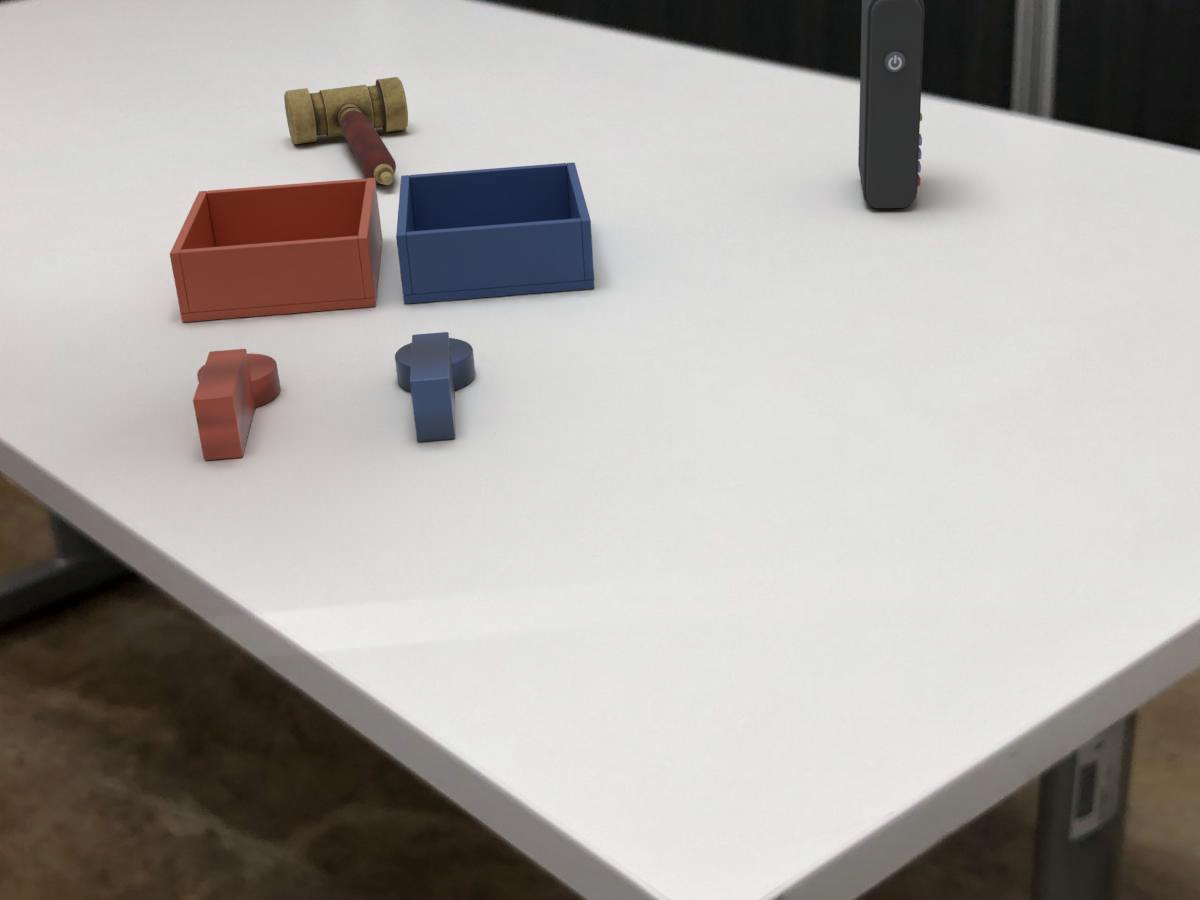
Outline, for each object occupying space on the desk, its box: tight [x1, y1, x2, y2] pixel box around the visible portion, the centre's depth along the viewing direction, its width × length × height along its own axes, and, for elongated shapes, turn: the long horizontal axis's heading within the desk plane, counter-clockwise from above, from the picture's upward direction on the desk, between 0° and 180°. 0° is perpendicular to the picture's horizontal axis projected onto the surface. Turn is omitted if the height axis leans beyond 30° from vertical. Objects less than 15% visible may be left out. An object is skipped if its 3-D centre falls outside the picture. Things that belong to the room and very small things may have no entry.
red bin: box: [169, 177, 384, 323], centre depth 104 cm, size 12×13×5 cm
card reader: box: [857, 0, 926, 209], centre depth 112 cm, size 9×4×15 cm, turn 174°
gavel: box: [283, 76, 409, 186], centre depth 130 cm, size 21×5×10 cm
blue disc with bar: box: [394, 331, 476, 443], centre depth 86 cm, size 10×4×4 cm, turn 5°
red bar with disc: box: [192, 348, 281, 461], centre depth 85 cm, size 10×4×4 cm, turn 5°
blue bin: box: [395, 161, 596, 305], centre depth 105 cm, size 12×13×5 cm
